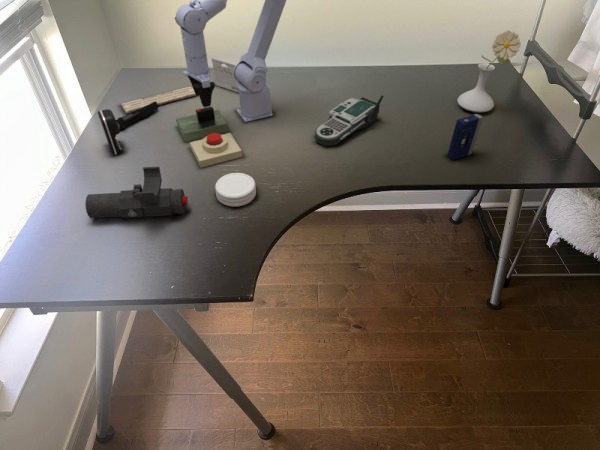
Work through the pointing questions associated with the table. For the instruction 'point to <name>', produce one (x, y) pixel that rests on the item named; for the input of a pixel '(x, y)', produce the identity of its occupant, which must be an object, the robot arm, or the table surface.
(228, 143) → the box
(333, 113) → the communication device
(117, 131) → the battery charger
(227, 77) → the ink cartridge box
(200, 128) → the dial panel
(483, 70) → the flower in vase
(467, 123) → the cassette player
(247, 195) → the coaster
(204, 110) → the black rectangular block
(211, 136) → the power button
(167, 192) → the laser sight
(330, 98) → the table surface
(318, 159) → the table surface
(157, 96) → the newspaper
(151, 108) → the electric trimmer
